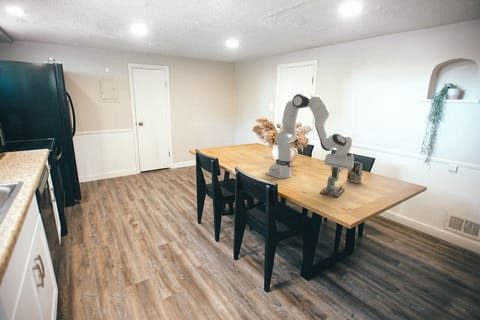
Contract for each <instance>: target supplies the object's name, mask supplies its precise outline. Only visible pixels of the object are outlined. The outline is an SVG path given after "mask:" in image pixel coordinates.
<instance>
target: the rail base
mask: <svg viewBox="0 0 480 320" xmlns="http://www.w3.org/2000/svg"><path fill="white" fill-rule="evenodd" d="M331 176H332V175H331ZM331 176H328V177H327V184H326V186H325V187H324V188H323V189H322V190H320V191H319V194H320V195H323V196H327V197H332V198H335V199H337V198H339V197H340V195H342V193H344V191H345V188H344V187H343V185H341V184H340V185H339V186H336V181H335V179H336V177H331Z"/></svg>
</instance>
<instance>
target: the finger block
mask: <svg viewBox="0 0 480 320" xmlns="http://www.w3.org/2000/svg"><path fill="white" fill-rule="evenodd" d="M339 169H341V167H340V165H333V166H332V171H331V177H336V179H335V182H338V181H339V180H340V179H339V178H340V177H339V176H340V172H338V171H339Z"/></svg>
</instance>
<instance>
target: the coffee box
mask: <svg viewBox="0 0 480 320" xmlns="http://www.w3.org/2000/svg"><path fill="white" fill-rule="evenodd" d="M363 167H364V162H360V161H355V160H354V166H353V168H352V169H347V176H346V177H347V178H346V181H347V182H352V183H355V184H359V183H361V181H362V175H363Z"/></svg>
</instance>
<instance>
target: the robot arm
mask: <svg viewBox="0 0 480 320" xmlns="http://www.w3.org/2000/svg"><path fill="white" fill-rule="evenodd" d="M307 108H309V109H310V111H311V112H312V113H311V114H312V115H313V118H314V127H315V130H316V132H317V135H318V138H319V140H320V142H319V143H320V146H321V148H322V150H323V151H326V152H330V151H333V150H334V149H336V150H335V152H334V153H327V154H326V156H325V158H324V160H323V163H324V165H325V166H330V171H331V172H332V166H333V165H340V169H339V171H338V172H339V173H342V171H343V170H344V169H347V170H348V169H352V168H353V166H354V161H355V157H354V154H352V153H350V151H351V147H352V144H353V139H352V138H351V136H349V135H342V134H340V133H339V132H335V133H332V134H331V135H329V136H328V135H327V132H326V129H325V123H326V121H327V120H328V118H329V116H330V111H329V109H328V107H327V104H326V102H325V101H324V100H323V99H322V97H321V96H320V95H318V94H317V95H313V96H312V95H311V94H309V93H297V94H295V95H294V96H293V98H292V100H288V101H287V102H286V104H285V106H284V110H283V114H282V115H283V116H282V120H281V124H282V131H280V132H278V133H277V134H275V136H274V141H275V143H276V144H277V150H278V154H277V159H275V163H273V164H272V165H270V167H269V168H268V170H267V171H266V174H265V175H269V176H271V177H275V178H277V179H281V178H282V179H283V178H284V179H285V178H291V177H293V174H292V150H291V145H290V144H291V143H293V142H295V140H296V139H297V133H296V124H297V118H298V115H299V114H298V113H299V110H300V109H307Z"/></svg>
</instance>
